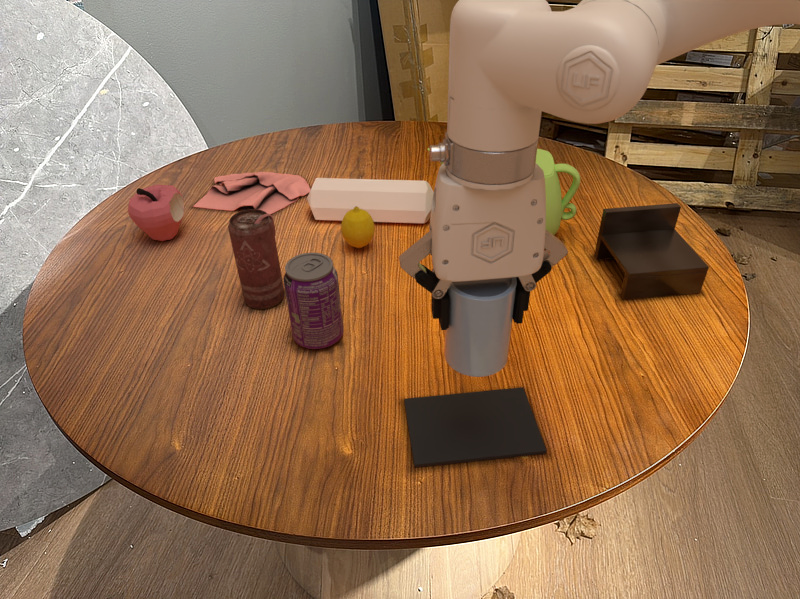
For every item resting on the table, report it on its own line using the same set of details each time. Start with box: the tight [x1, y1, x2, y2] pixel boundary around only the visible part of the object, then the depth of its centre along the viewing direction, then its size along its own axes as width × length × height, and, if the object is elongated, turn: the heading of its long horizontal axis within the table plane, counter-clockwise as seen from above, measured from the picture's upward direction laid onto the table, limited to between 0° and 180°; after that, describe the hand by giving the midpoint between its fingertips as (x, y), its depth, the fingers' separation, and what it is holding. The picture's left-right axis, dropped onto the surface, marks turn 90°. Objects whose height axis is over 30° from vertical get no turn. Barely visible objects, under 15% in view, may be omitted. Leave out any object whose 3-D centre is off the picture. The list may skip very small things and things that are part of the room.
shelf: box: [593, 202, 710, 301], centre depth 94 cm, size 12×12×9 cm
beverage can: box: [282, 252, 344, 350], centre depth 83 cm, size 7×7×12 cm
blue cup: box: [443, 277, 517, 378], centre depth 63 cm, size 7×7×10 cm
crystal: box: [306, 177, 434, 224], centre depth 112 cm, size 7×7×24 cm
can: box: [227, 209, 286, 310], centre depth 90 cm, size 6×6×14 cm
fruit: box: [340, 206, 376, 249], centre depth 102 cm, size 6×6×8 cm
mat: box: [403, 386, 548, 469], centre depth 73 cm, size 15×10×1 cm, turn 96°
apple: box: [127, 183, 185, 242], centre depth 106 cm, size 10×9×10 cm
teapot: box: [427, 147, 581, 236], centre depth 105 cm, size 25×22×16 cm
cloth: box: [192, 171, 311, 215], centre depth 121 cm, size 20×22×2 cm
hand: (478, 317), depth 63 cm, fingers closed on blue cup, 6 cm apart
